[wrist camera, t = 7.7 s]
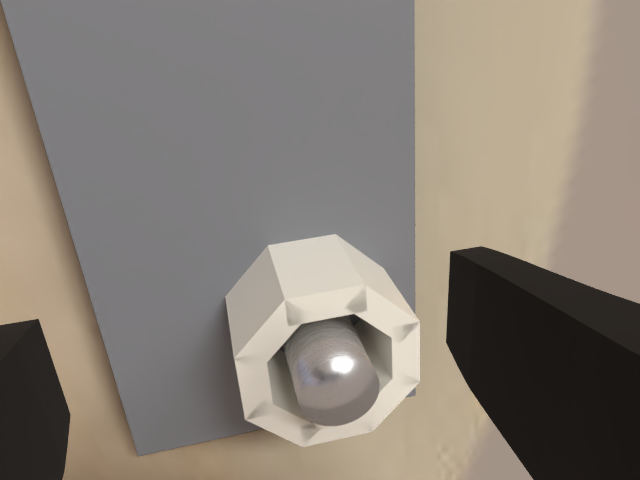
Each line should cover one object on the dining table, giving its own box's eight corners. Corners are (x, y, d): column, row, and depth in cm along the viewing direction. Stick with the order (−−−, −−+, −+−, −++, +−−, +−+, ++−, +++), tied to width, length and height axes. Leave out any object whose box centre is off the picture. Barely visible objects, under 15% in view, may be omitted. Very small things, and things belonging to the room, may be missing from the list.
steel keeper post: (315, 348, 21) (346, 436, 17) (261, 322, 20) (281, 409, 16) (354, 299, 21) (395, 378, 17) (300, 269, 20) (331, 346, 16)
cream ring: (386, 357, 22) (420, 421, 19) (241, 387, 21) (251, 458, 18) (382, 225, 20) (420, 274, 16) (217, 253, 19) (225, 310, 16)
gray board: (405, 376, 24) (415, 395, 23) (140, 433, 22) (138, 456, 21) (397, -208, 15) (413, -220, 14) (-43, -190, 14) (-62, -203, 13)
